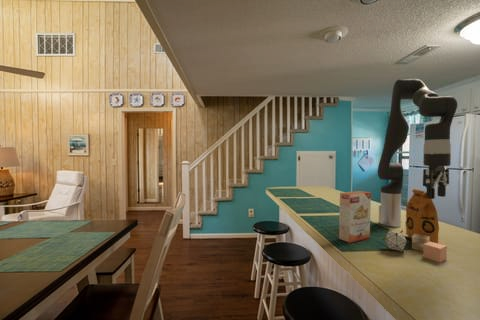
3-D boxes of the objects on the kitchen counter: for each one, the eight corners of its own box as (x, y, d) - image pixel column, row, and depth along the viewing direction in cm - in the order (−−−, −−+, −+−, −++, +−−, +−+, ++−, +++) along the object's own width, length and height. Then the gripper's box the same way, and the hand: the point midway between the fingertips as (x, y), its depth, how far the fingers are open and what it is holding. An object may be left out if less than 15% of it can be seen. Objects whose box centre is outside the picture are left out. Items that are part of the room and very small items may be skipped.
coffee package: (414, 244, 99) (415, 192, 99) (402, 235, 111) (403, 188, 111) (443, 247, 97) (444, 193, 96) (427, 237, 108) (428, 189, 108)
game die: (389, 258, 95) (373, 234, 99) (407, 250, 95) (391, 226, 100) (399, 256, 87) (382, 230, 92) (420, 247, 87) (401, 221, 92)
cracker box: (350, 243, 101) (350, 194, 100) (338, 239, 106) (338, 192, 105) (371, 238, 107) (371, 192, 106) (359, 234, 112) (359, 190, 112)
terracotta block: (423, 257, 87) (423, 244, 87) (429, 254, 90) (430, 241, 90) (440, 262, 83) (440, 248, 83) (446, 259, 85) (446, 245, 85)
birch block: (411, 248, 95) (412, 236, 95) (414, 245, 99) (414, 233, 99) (427, 252, 92) (427, 239, 92) (429, 248, 95) (429, 236, 95)
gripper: (433, 152, 92) (432, 194, 93) (414, 152, 85) (414, 197, 86) (458, 152, 86) (457, 197, 86) (440, 152, 79) (439, 201, 79)
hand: (436, 197), depth 86 cm, fingers open, 8 cm apart
